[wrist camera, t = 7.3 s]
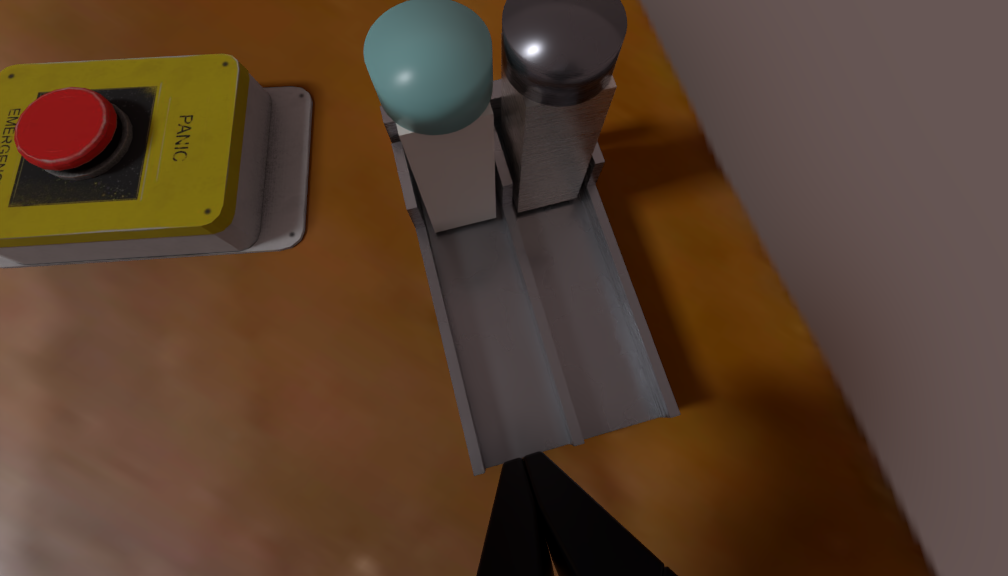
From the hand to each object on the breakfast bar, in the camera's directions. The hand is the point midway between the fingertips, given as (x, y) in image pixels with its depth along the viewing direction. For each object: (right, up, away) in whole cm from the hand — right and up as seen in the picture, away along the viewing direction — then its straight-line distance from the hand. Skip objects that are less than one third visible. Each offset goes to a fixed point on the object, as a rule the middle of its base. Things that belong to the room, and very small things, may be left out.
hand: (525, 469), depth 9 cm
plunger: (-2, +8, +10) cm, 13 cm away
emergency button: (-18, +9, +13) cm, 24 cm away
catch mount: (0, +4, +11) cm, 12 cm away
